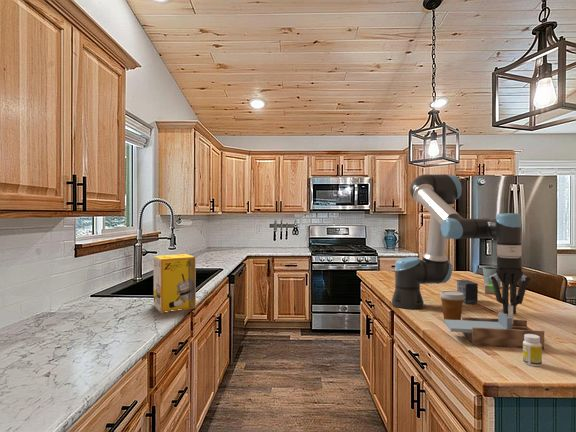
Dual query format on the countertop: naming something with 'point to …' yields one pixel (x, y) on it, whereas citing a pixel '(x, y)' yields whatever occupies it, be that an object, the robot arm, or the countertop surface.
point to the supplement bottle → (532, 350)
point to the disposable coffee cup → (452, 304)
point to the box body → (501, 334)
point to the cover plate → (479, 324)
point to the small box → (468, 291)
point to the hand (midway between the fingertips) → (509, 323)
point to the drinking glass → (490, 271)
